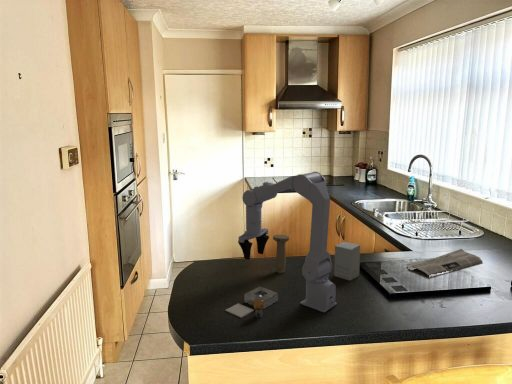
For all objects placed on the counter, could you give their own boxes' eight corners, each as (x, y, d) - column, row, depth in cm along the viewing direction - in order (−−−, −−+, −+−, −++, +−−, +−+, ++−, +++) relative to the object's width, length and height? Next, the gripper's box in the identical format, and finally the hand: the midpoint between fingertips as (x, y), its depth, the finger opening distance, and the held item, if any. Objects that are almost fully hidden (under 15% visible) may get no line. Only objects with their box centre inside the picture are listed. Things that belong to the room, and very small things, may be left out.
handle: (275, 268, 162) (275, 234, 159) (290, 271, 159) (290, 235, 156) (271, 272, 157) (271, 237, 155) (286, 275, 155) (286, 239, 152)
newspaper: (428, 279, 151) (429, 271, 151) (403, 269, 162) (403, 261, 162) (484, 263, 168) (485, 255, 167) (457, 255, 178) (458, 247, 178)
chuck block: (277, 301, 133) (277, 292, 132) (262, 309, 127) (262, 301, 126) (259, 294, 138) (259, 286, 138) (244, 302, 132) (244, 293, 132)
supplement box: (359, 275, 154) (361, 245, 152) (350, 281, 149) (351, 249, 147) (343, 270, 159) (344, 241, 157) (333, 276, 154) (334, 245, 152)
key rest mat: (253, 311, 126) (253, 309, 126) (241, 318, 122) (241, 316, 122) (238, 304, 131) (238, 303, 131) (225, 310, 126) (225, 309, 126)
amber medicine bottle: (265, 316, 123) (265, 295, 122) (259, 319, 121) (259, 298, 119) (258, 313, 125) (258, 292, 124) (252, 316, 123) (252, 295, 121)
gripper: (258, 216, 153) (258, 249, 155) (232, 223, 142) (232, 259, 145) (272, 219, 148) (272, 253, 151) (246, 226, 137) (246, 263, 140)
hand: (253, 256), depth 147 cm, fingers open, 7 cm apart
